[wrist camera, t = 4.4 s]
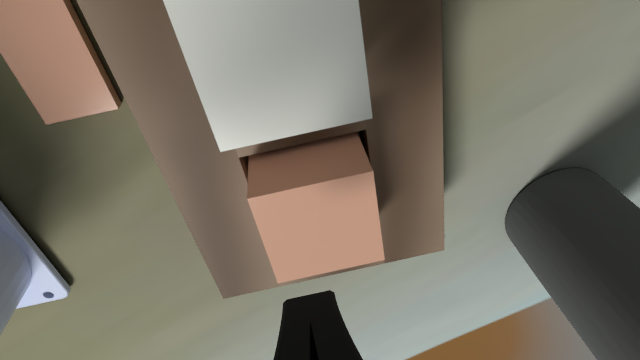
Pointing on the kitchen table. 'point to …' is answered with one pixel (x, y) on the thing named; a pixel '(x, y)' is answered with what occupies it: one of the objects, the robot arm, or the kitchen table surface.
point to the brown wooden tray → (232, 166)
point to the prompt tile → (54, 59)
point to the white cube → (274, 65)
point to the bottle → (584, 255)
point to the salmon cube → (316, 207)
